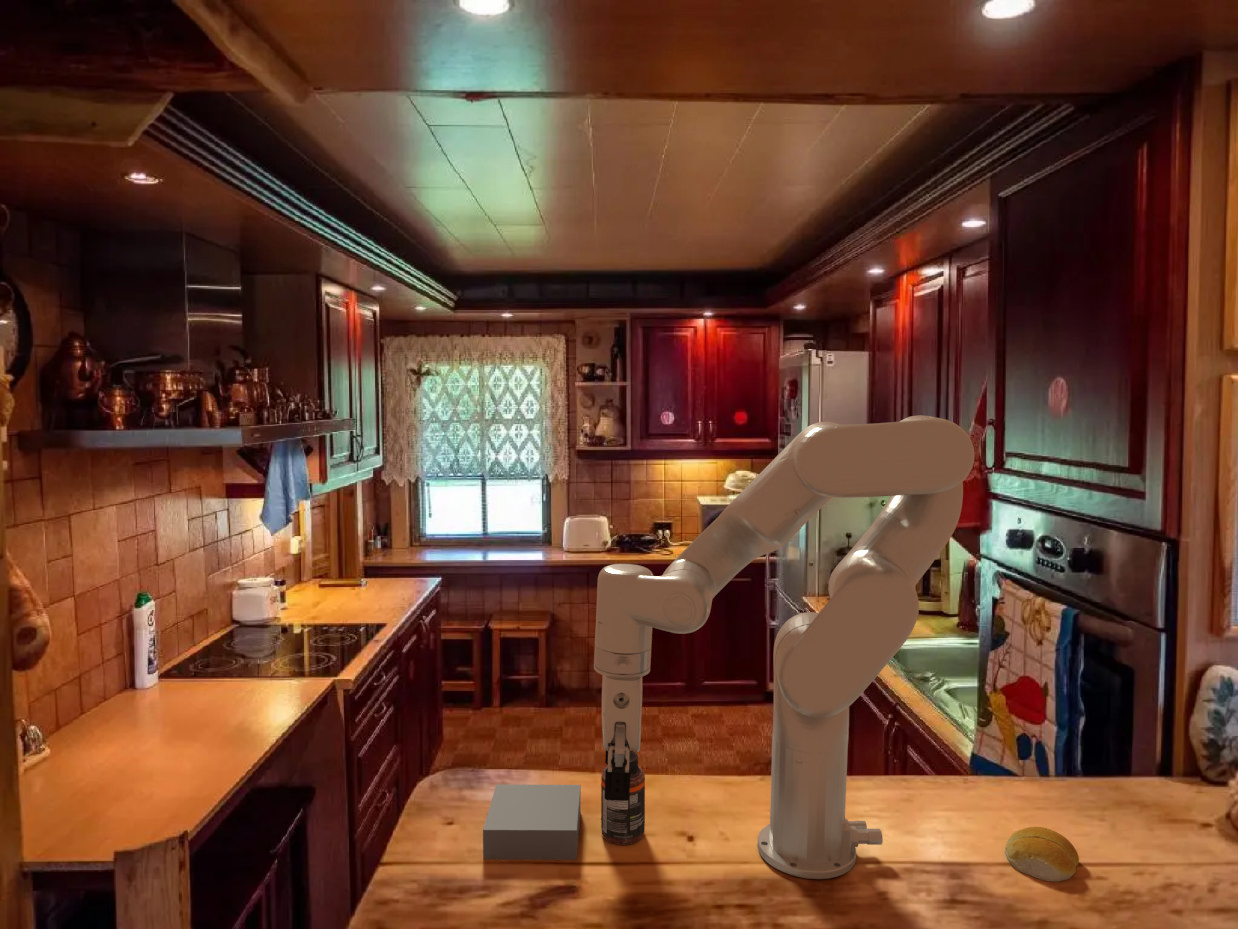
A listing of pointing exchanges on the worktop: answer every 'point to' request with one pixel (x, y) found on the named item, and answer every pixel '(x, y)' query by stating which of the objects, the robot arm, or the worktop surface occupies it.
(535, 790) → the pedestal
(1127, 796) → the worktop surface
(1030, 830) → the bread roll
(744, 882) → the worktop surface
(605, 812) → the supplement bottle
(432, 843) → the worktop surface
